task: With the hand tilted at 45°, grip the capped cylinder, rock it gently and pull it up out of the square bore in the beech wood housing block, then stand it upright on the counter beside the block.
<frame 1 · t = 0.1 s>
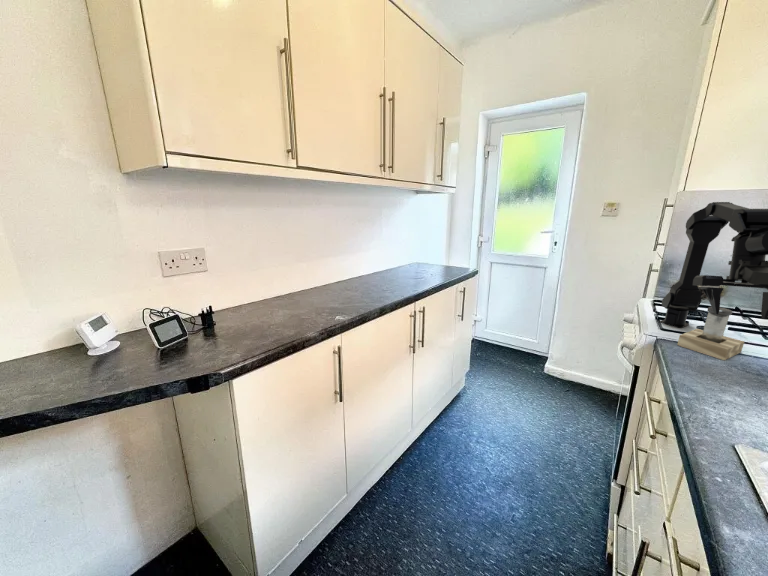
hand: (739, 316, 82), 15 cm above the countertop, fingers open, 9 cm apart
housing: (708, 348, 97), on the countertop
capped cylinder: (708, 348, 98), resting in housing
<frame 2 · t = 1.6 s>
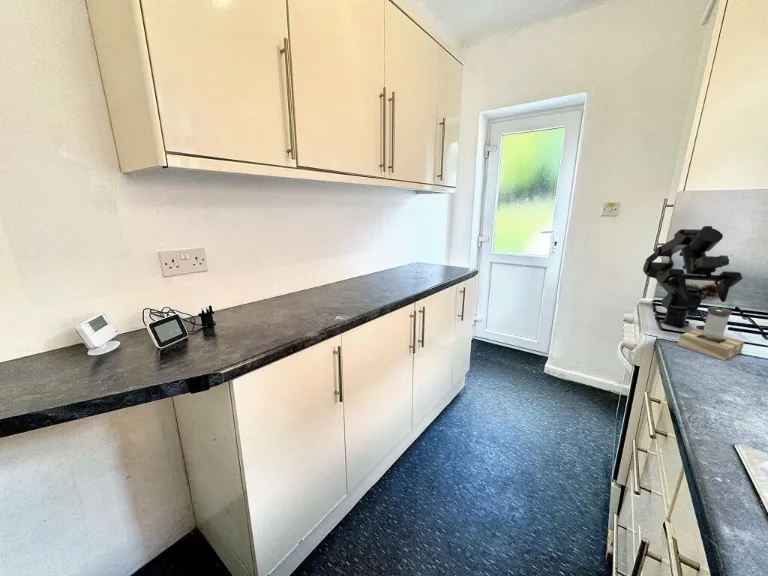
hand: (705, 300, 101), 13 cm above the countertop, fingers open, 9 cm apart
nothing on the countertop moved.
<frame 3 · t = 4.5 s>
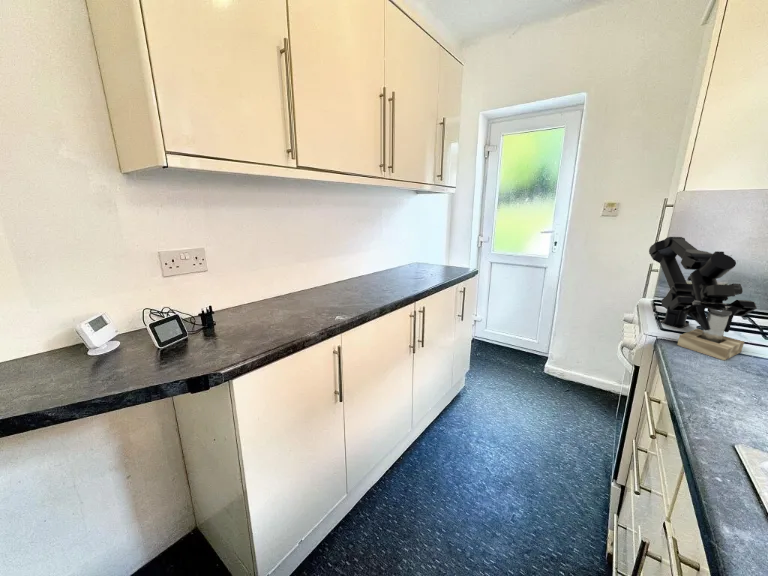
hand: (717, 330, 94), 7 cm above the countertop, fingers closed on capped cylinder, 4 cm apart
capped cylinder: (708, 348, 97), resting in housing, touching gripper
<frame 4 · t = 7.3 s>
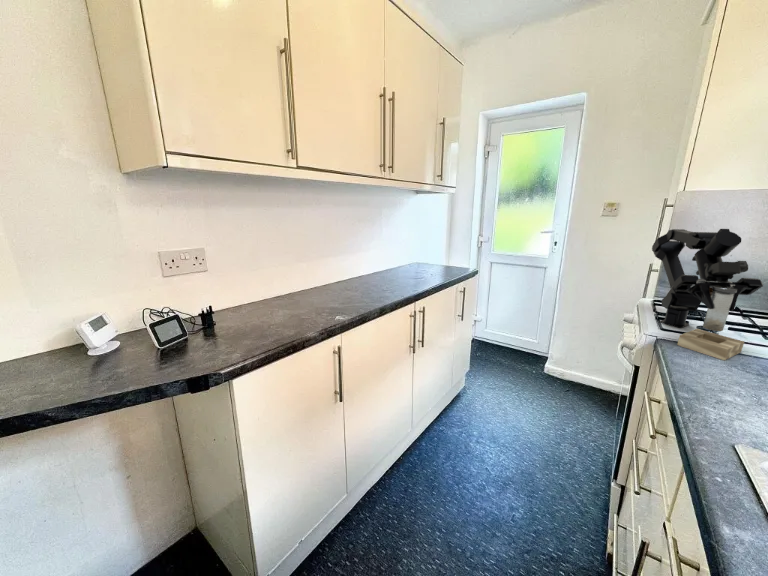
hand: (721, 309, 93), 13 cm above the countertop, fingers closed on capped cylinder, 4 cm apart
capped cylinder: (712, 328, 96), point 7 cm above the countertop, touching gripper
when the fingers open (8 cm above the countertop, at t = 10.2 s): capped cylinder drops 1 cm, on the countertop.
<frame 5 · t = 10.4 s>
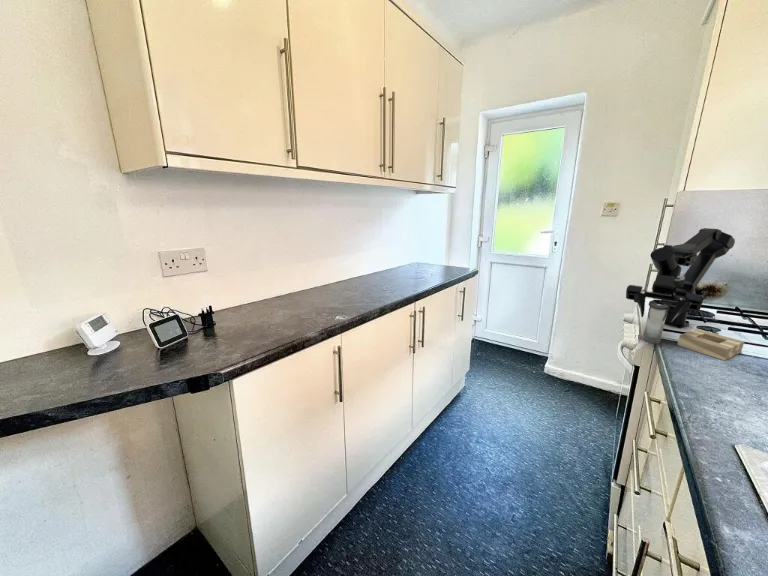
hand: (655, 319, 100), 8 cm above the countertop, fingers open, 7 cm apart
capped cylinder: (651, 340, 103), on the countertop
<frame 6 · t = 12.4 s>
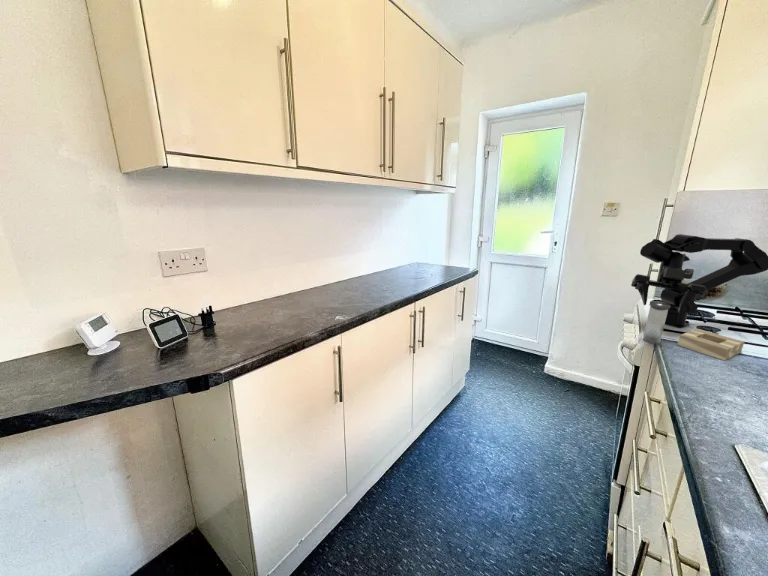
hand: (661, 308, 107), 9 cm above the countertop, fingers open, 9 cm apart
nothing on the countertop moved.
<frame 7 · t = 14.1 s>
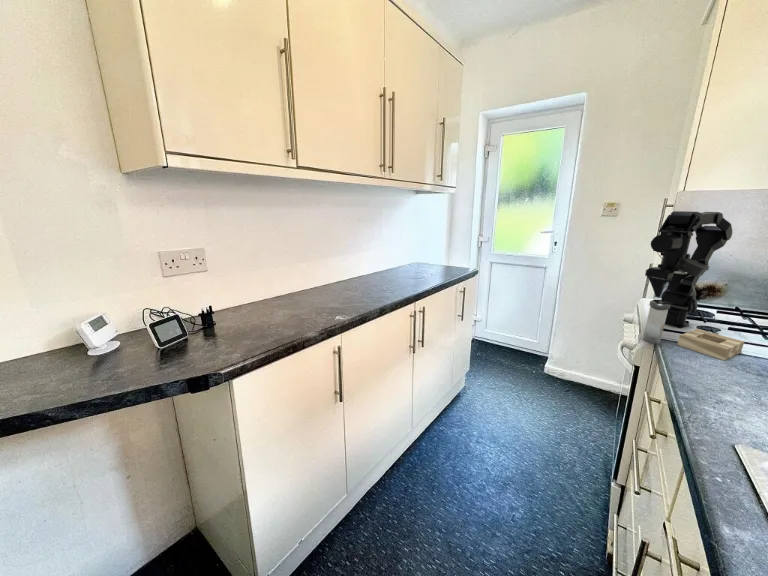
hand: (665, 294, 108), 13 cm above the countertop, fingers open, 9 cm apart
nothing on the countertop moved.
at the end: capped cylinder inside the target area (0.1 cm from its centre), on the countertop; capped cylinder tilted 0°; capped cylinder touching countertop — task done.
